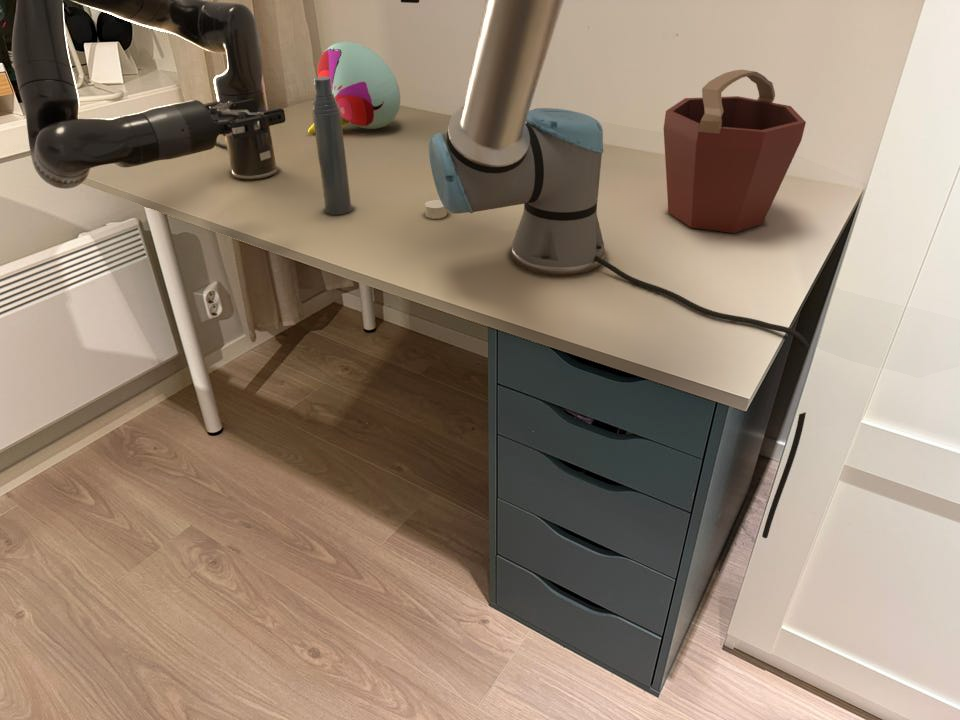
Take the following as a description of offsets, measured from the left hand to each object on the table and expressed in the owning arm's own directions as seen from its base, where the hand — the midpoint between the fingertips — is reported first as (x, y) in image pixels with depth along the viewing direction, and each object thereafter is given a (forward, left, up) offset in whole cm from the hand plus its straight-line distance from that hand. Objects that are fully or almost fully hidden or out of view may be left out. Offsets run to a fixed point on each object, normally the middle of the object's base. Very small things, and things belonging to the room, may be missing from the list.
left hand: (269, 109), depth 117 cm
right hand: (+15, +22, +16) cm, 31 cm away
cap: (+15, +22, -19) cm, 33 cm away
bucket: (+53, +58, -21) cm, 81 cm away
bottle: (0, +11, -21) cm, 23 cm away
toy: (-42, +46, -21) cm, 65 cm away
